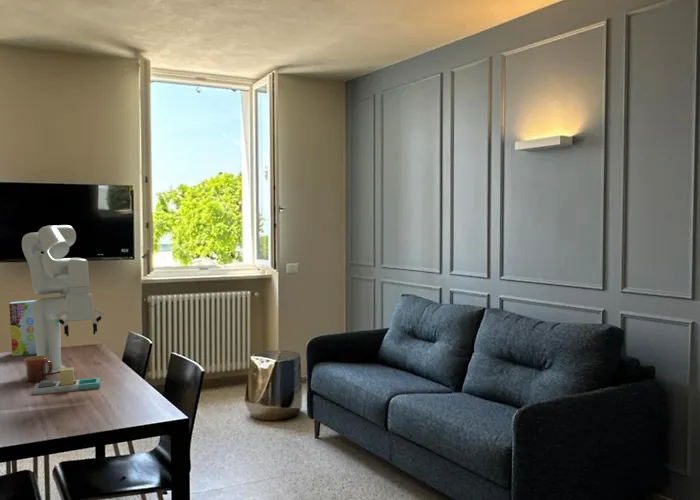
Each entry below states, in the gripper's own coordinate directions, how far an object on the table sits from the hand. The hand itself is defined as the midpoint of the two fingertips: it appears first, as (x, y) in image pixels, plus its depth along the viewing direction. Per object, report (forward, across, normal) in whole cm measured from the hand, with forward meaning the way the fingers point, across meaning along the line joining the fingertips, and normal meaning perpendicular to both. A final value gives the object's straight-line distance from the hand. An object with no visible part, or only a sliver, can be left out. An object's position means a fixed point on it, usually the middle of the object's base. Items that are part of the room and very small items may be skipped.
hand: (81, 334), depth 255 cm
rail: (+21, -6, -4) cm, 22 cm away
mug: (+20, -16, +14) cm, 29 cm away
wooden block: (+19, -6, -4) cm, 21 cm away
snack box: (+19, -22, +80) cm, 85 cm away
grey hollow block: (+19, -12, -4) cm, 23 cm away
